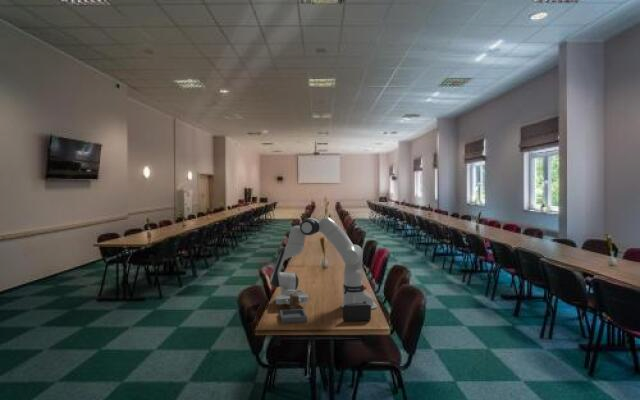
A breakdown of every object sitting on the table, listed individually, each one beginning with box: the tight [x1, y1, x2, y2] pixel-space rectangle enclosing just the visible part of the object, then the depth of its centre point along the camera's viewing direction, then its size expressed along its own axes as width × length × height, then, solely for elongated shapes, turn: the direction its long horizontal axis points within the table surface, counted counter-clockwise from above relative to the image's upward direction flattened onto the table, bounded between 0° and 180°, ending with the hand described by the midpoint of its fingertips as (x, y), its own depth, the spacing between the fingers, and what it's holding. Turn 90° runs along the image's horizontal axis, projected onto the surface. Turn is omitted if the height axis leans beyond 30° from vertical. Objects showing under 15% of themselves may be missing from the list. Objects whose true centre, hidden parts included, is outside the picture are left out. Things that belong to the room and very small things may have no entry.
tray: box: [279, 308, 308, 324], centre depth 210 cm, size 14×14×3 cm
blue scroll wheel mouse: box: [342, 303, 372, 322], centre depth 208 cm, size 16×5×9 cm, turn 97°
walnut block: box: [289, 294, 300, 310], centre depth 222 cm, size 4×4×10 cm
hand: (294, 302), depth 221 cm, fingers closed on walnut block, 4 cm apart
